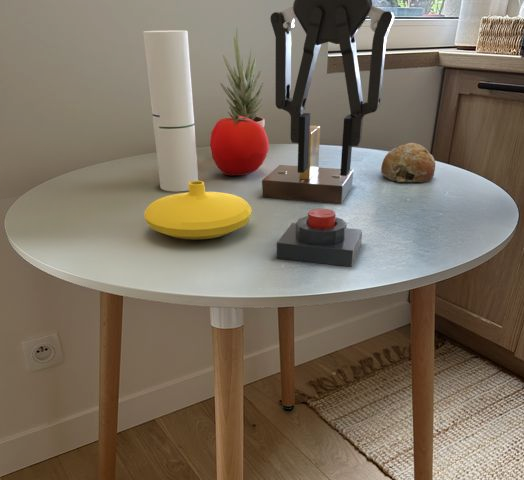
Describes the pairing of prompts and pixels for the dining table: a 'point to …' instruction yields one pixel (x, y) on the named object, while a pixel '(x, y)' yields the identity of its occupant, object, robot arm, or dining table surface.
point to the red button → (321, 218)
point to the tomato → (238, 145)
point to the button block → (320, 243)
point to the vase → (198, 213)
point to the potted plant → (243, 87)
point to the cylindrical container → (172, 107)
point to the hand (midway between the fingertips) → (323, 171)
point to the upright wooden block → (312, 153)
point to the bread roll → (408, 164)
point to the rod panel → (307, 185)
